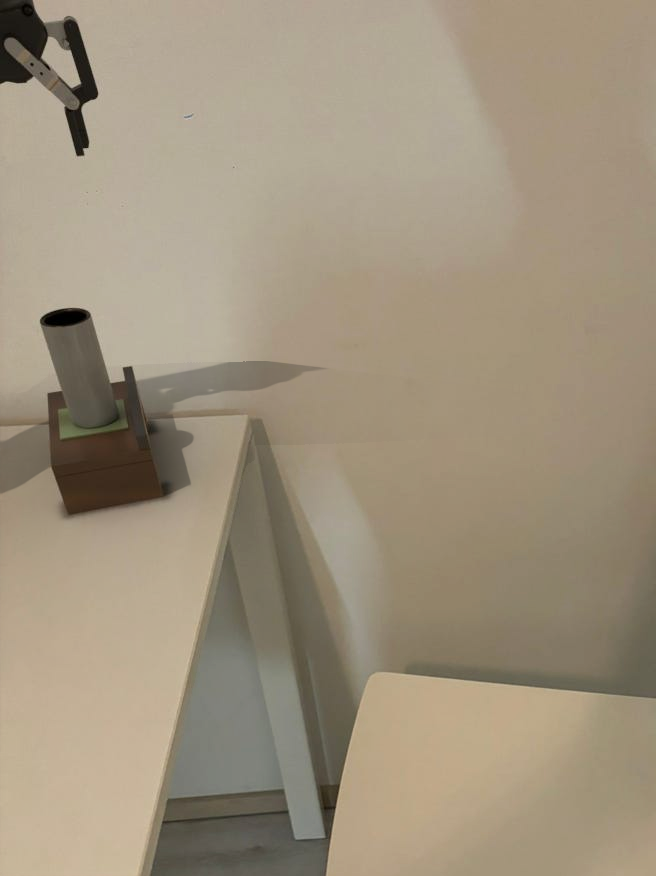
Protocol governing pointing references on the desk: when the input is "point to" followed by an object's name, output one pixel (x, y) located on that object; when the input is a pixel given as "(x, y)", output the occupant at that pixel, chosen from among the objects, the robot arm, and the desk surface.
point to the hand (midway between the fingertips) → (30, 159)
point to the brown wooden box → (103, 453)
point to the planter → (79, 366)
